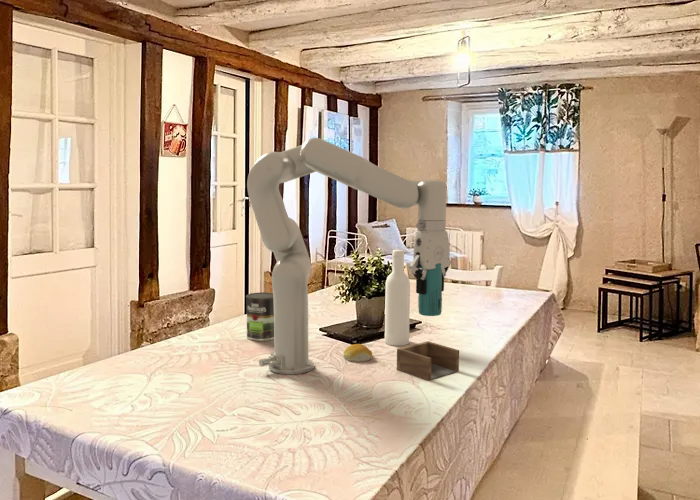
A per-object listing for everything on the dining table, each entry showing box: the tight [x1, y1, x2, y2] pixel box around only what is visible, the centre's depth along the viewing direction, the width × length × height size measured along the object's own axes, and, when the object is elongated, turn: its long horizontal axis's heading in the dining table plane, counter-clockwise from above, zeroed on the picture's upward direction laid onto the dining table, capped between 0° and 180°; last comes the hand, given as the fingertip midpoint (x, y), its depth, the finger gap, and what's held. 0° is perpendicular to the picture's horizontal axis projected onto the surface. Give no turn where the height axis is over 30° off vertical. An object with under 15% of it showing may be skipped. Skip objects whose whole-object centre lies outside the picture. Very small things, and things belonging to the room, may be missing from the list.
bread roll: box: [343, 343, 373, 363], centre depth 186 cm, size 8×9×4 cm
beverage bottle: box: [417, 263, 443, 317], centre depth 171 cm, size 6×7×20 cm
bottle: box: [384, 249, 411, 347], centre depth 200 cm, size 8×8×30 cm
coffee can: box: [245, 291, 274, 342], centre depth 207 cm, size 10×10×14 cm
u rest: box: [396, 341, 460, 381], centre depth 174 cm, size 12×12×6 cm
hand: (430, 291), depth 171 cm, fingers closed on beverage bottle, 6 cm apart
